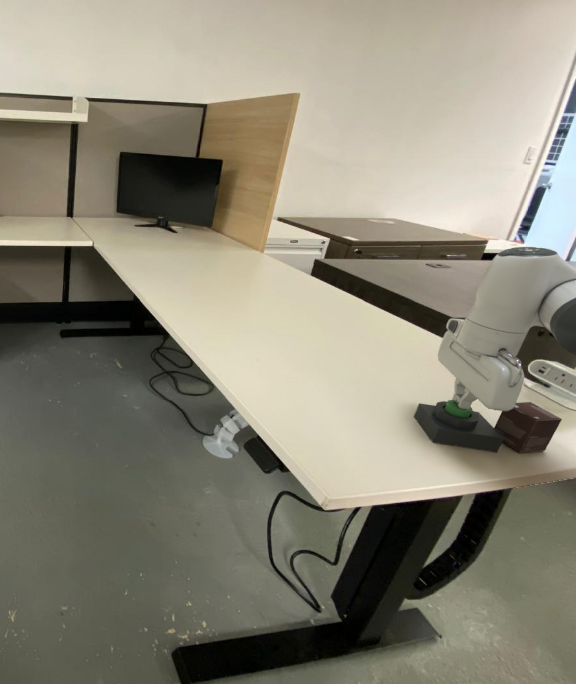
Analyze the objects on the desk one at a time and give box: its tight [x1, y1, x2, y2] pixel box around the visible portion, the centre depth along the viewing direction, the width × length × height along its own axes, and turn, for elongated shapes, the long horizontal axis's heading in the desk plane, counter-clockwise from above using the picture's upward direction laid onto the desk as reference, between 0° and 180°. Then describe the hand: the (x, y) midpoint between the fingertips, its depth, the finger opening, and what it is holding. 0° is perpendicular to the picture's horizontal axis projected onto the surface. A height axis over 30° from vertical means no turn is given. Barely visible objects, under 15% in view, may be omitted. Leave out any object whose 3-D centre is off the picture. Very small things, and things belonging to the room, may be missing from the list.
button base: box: [413, 400, 504, 453], centre depth 89 cm, size 11×9×5 cm
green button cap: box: [444, 399, 473, 418], centre depth 88 cm, size 4×4×2 cm
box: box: [493, 401, 562, 454], centre depth 87 cm, size 6×6×7 cm
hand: (459, 405), depth 88 cm, fingers closed, pressing on green button cap
